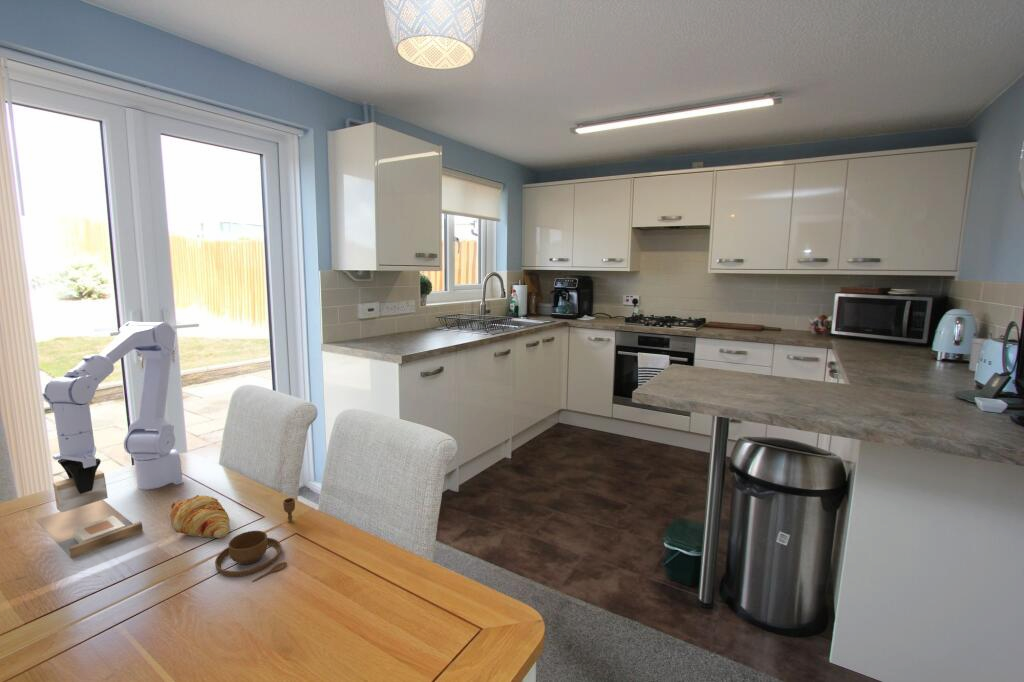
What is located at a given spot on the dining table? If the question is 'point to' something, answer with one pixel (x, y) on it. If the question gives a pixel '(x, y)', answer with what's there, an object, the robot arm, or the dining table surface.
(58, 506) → the light wood block
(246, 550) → the place setting
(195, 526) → the croissant
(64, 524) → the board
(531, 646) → the dining table surface
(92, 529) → the tile
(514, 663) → the dining table surface
